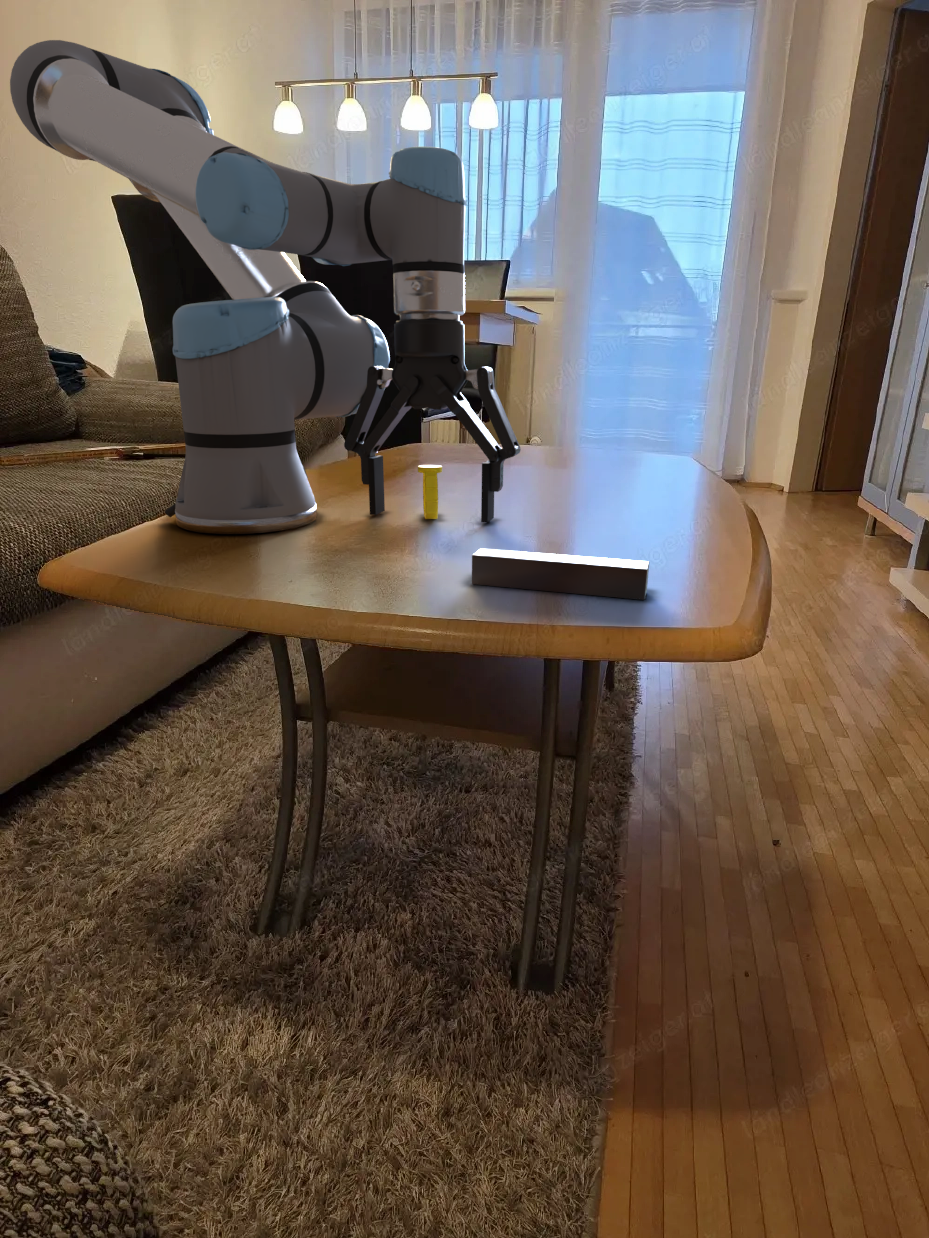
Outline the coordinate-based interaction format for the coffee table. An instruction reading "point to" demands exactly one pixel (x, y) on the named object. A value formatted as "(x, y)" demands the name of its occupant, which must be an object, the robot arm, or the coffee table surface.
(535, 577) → the walnut stick
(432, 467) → the yellow capped peg
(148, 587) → the coffee table surface
